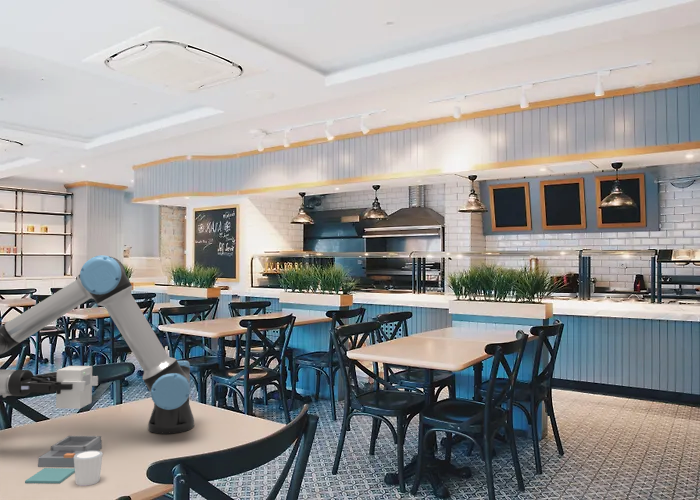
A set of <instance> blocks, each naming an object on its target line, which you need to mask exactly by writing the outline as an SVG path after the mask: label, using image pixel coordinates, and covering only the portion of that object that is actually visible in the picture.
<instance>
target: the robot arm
mask: <svg viewBox="0 0 700 500" xmlns="http://www.w3.org/2000/svg"><path fill="white" fill-rule="evenodd" d="M79 272H80V273H79V274H77V275H76V276H77V277H76V279H75V280H74V281H72V282H71V283H69V284H67V285H66V286H64V287H62V288H60V289H59V290H58V291H56V292H55V293H53V294H51V295H50V296H48V297H47V298H45V299H43V300H41V301H40V302H39V303H37V304H35V305H33V306H32V307H30V308H29V309H27V310H26V311H24V312H22V313H21V314H19V315H18V316H16V317H14V318H12V319H11V320H10V321H7V322H5V324H2V325H1V326H0V355H3V354H5V353H7V352H9V351H10V350H11V349H12V348H14V347H15V346H18V345H19V344H20V343H21V342H23V341H25V340H26V339H28V338H29V337H31V336H32V335H34V334H36V333H37V332H39V331H41V330H43V328H45V327H47V326H48V325H51V323H53V322H55V321H57V320H58V319H60V318H61V317H63V316H64V315H66V314H68V313H69V312H71V311H72V310H74V309H76V308H77V307H79V306H80V305H82V304H84V303H85V302H88V301H89V300H90V299H92V300H94V302H95V303H96V305H97V306H101V307H104V308H105V310H106V311H107V314H109V317H111V319H112V321H113V323H114V325H116V326H115V327H117V329H118V331H119V332H120V334H121V336H122V338H123V340H124V341H125V342H126V344H127V346H128V348H129V349H130V351H131V352H132V354H133V356H134V357H135V359H136V360H137V363H138V364H139V366H140V367H141V369H142V371H143V374H142V380H143V382H144V384H145V385H146V387H147V388H148V391H149V392H150V397H151V400H152V402H153V409H152V411H151V415H150V417H149V420H148V422H147V423H148V425H147V426H148V427H147V429H148V431H149V432H151V433H153V434H162V435H163V434H165V435H167V434H179V433H182V432H187V431H189V430H192V429H193V428H194V427H195V418H194V414H193V412H192V411H193V410H192V408H191V404H190V395H191V382H190V381H191V379H190V377H191V376H190V374H191V364H190V362H189V361H188V360H177V358H175V357H170V356H169V355H168V353H167V351H166V349H165V348H164V347H163V344H162V343H161V342H160V340H159V338H158V336H157V334H156V333H155V331H154V330H153V327H151V325H150V323H149V321H148V320H147V318H146V317H145V314H144V313H143V311H142V310H141V308H140V306H139V305H138V303H137V301H136V299H135V298H134V296H133V295H132V289H133V285H132V283H131V281H130V280H129V278H128V276H127V274H126V269H125V266H124V265H123V263H122V262H121V261H120V260H119V259H117V258H115V257H114V256H109V255H102V254H101V255H96V256H94V257H93V256H92V257H91V258H89V259H88V260H86V261H85V263H83V265H82V267H81V268H80V271H79ZM85 385H86V381H63V382H62V384H61V382H57V374H49V373H47V374H45V375H43V374H37V375H36V376H35V375H34V374H33V372H32V371H31V370H30V369H0V396H2V398H6V397H7V396H14V397H26V396H27V395H29V394H30V393H44V394H45V393H47V394H55V392H56V391H57V394H61V390H62V391H85ZM98 385H99V376H98V375H96V376H95V375H92V387H93V386H95V387H96V386H98Z"/></svg>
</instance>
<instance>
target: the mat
mask: <svg viewBox="0 0 700 500" xmlns="http://www.w3.org/2000/svg"><path fill="white" fill-rule="evenodd" d="M73 474H75V467H43V468H42V469H41V470H39V471H38V472H36V473H35V474H33V475H32V476H30V477H29V478H27V479H26V480H24V484H61V483H63V482H64V481H65V480H66V479H68V478H69V477H70V476H72V475H73Z"/></svg>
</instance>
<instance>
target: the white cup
mask: <svg viewBox="0 0 700 500" xmlns="http://www.w3.org/2000/svg"><path fill="white" fill-rule="evenodd" d="M103 455H104V453H103V452H102V451H101V450H98V451H94V450H93V451H85V452H81V453H78V454H76V455H74V467H73V468H75V473H74V477H75V478H74V479H75V484H76V485H77V486H81V487H84V486H91V485H95V484H97V483H99V482H100V481H101V471H102V466H103V465H102V464H103Z"/></svg>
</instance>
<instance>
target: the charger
mask: <svg viewBox="0 0 700 500" xmlns="http://www.w3.org/2000/svg"><path fill="white" fill-rule="evenodd" d="M56 375H57V382H61V384H62V382H63V381H86V385H85V391H62V390H61V394H57V391H55V392H56V393H55V395H56V397H55V409H70V410H73V409H74V410H76V409H79V410H80V409H82V408H84V407H86V406H87V405H90V404H92V400H93V399H92V398H93V397H92V396H93V386H92V376H93V366H92V365H67V366H65V367H63V368H58V369H57V370H56Z"/></svg>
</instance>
